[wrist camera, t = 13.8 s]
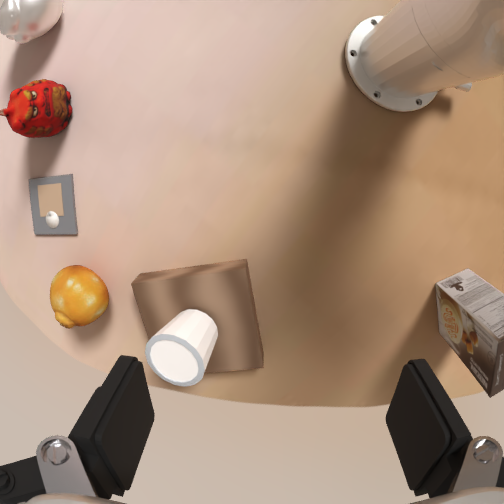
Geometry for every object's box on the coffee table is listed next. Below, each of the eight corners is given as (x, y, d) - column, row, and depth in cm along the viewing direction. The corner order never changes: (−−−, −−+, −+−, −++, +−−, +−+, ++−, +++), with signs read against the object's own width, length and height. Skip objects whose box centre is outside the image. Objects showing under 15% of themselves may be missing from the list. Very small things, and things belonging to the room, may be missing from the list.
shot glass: (170, 298, 37) (142, 327, 31) (225, 311, 36) (205, 344, 30) (170, 345, 39) (146, 376, 33) (221, 358, 38) (203, 394, 32)
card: (72, 174, 36) (70, 174, 35) (78, 233, 38) (76, 234, 38) (30, 179, 36) (28, 179, 36) (36, 233, 39) (34, 234, 38)
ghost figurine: (23, 17, 28) (-17, 2, 18) (71, -17, 27) (35, -42, 17) (28, 59, 31) (-17, 49, 21) (78, 25, 29) (37, 3, 20)
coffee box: (470, 317, 41) (526, 376, 25) (438, 333, 42) (488, 400, 26) (468, 266, 38) (537, 318, 23) (433, 282, 39) (497, 343, 24)
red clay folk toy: (79, 127, 34) (-1, 126, 20) (41, 145, 35) (-38, 154, 21) (71, 75, 32) (-5, 56, 18) (33, 96, 32) (-44, 90, 18)
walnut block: (247, 257, 39) (245, 268, 36) (263, 350, 44) (263, 367, 40) (142, 271, 41) (131, 283, 37) (169, 358, 45) (162, 374, 41)
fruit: (100, 319, 43) (75, 349, 35) (61, 283, 41) (31, 307, 33) (127, 283, 40) (101, 311, 33) (83, 244, 39) (51, 264, 31)
